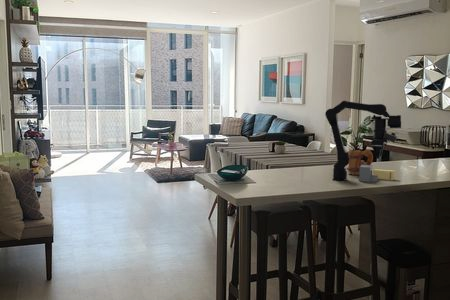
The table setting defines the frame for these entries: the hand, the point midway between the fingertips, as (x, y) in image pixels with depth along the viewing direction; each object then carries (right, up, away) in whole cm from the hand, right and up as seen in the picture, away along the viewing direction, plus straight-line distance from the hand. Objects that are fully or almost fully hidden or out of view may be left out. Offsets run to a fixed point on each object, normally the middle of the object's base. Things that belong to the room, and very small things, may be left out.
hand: (379, 157), depth 234 cm
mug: (-3, -11, +24) cm, 27 cm away
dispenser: (-4, -13, +5) cm, 14 cm away
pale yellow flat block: (+6, -12, +10) cm, 17 cm away
